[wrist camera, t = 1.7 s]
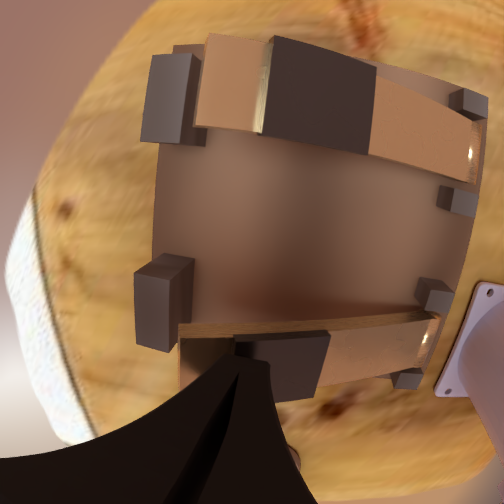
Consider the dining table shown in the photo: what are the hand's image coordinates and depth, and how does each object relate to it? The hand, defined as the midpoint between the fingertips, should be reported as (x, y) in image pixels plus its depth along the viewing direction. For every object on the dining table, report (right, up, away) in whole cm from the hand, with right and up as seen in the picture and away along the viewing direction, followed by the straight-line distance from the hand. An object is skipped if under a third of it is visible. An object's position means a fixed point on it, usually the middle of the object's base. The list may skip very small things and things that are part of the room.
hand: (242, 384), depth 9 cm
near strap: (+4, +8, 0) cm, 9 cm away
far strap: (+3, 0, +3) cm, 4 cm away
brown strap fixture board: (+3, +6, +7) cm, 10 cm away
